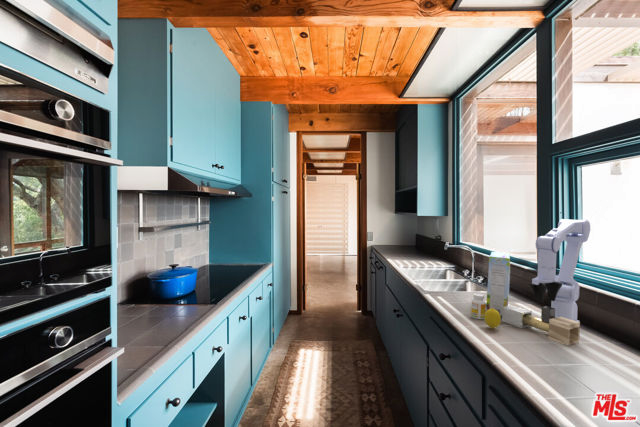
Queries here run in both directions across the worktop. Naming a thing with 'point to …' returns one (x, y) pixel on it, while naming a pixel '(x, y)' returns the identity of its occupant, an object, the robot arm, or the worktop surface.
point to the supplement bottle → (478, 306)
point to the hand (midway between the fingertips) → (545, 301)
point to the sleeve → (515, 315)
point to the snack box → (498, 281)
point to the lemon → (492, 318)
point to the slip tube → (540, 323)
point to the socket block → (564, 330)
